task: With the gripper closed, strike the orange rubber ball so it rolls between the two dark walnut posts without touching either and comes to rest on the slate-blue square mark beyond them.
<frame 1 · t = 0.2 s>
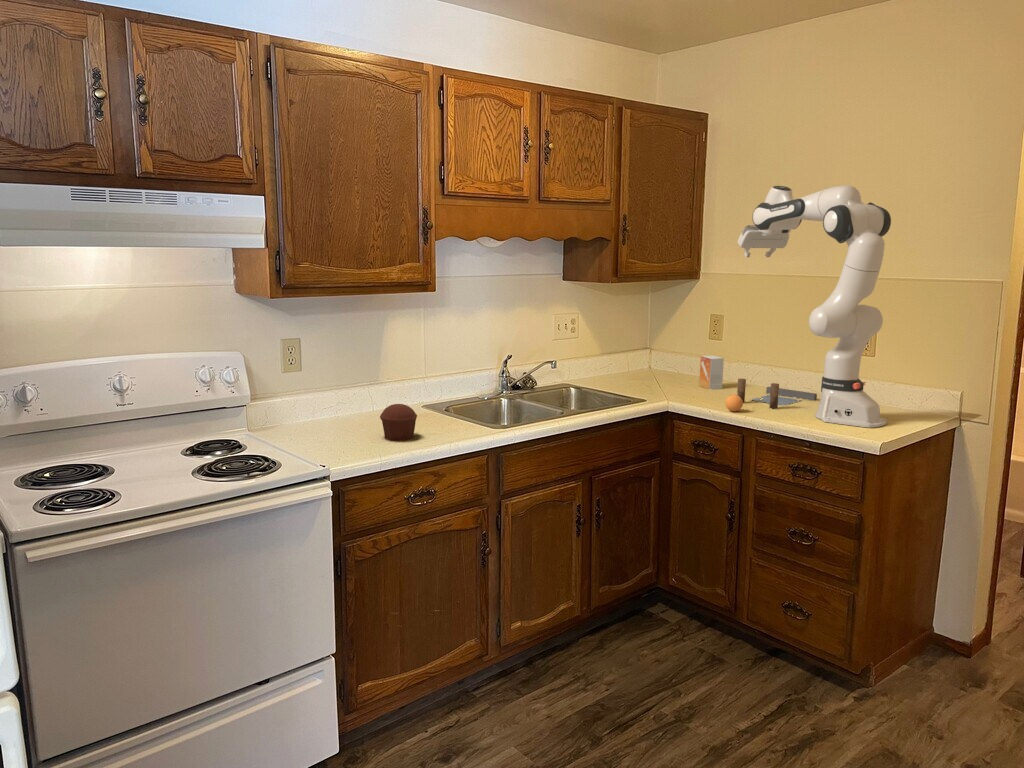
hand: (757, 256, 311), 54 cm above the worktop, tool tilted 30°, fingers open, 8 cm apart
muffin: (398, 437, 237), on the worktop
small box: (710, 388, 324), on the worktop
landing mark: (775, 400, 298), on the worktop
post 2: (773, 408, 283), on the worktop
post 1: (740, 402, 293), on the worktop
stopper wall: (790, 396, 306), on the worktop
ball: (734, 403, 277), on the worktop
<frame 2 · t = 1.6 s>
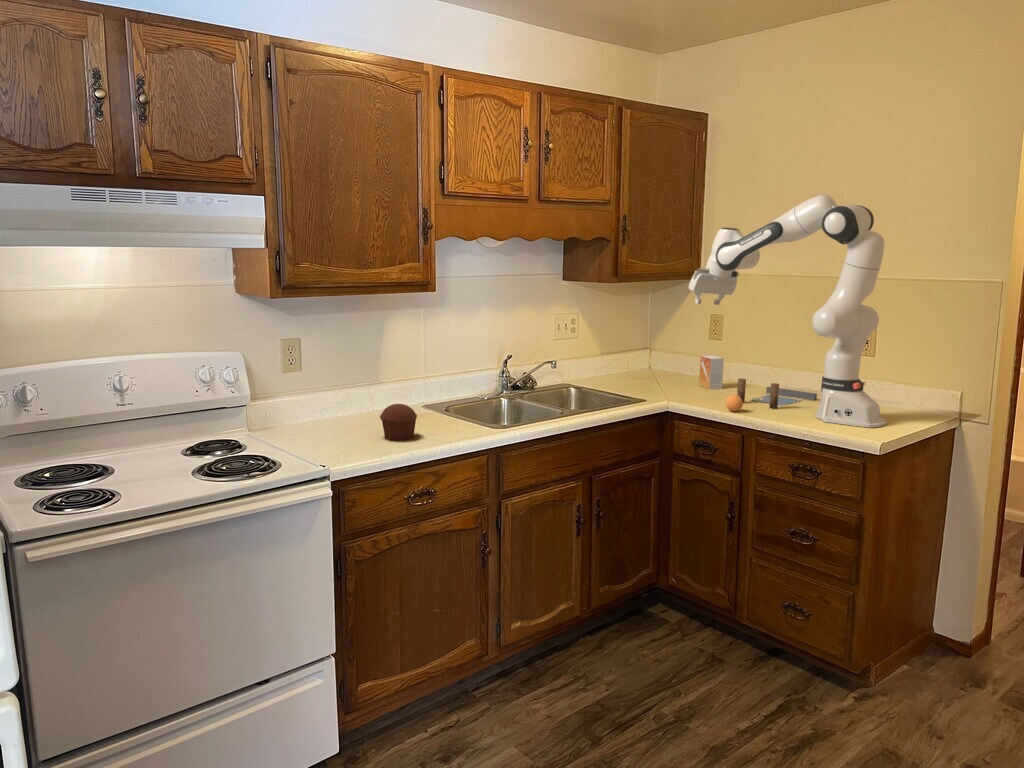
hand: (706, 303, 298), 36 cm above the worktop, tool tilted 15°, fingers open, 8 cm apart
nothing on the worktop moved.
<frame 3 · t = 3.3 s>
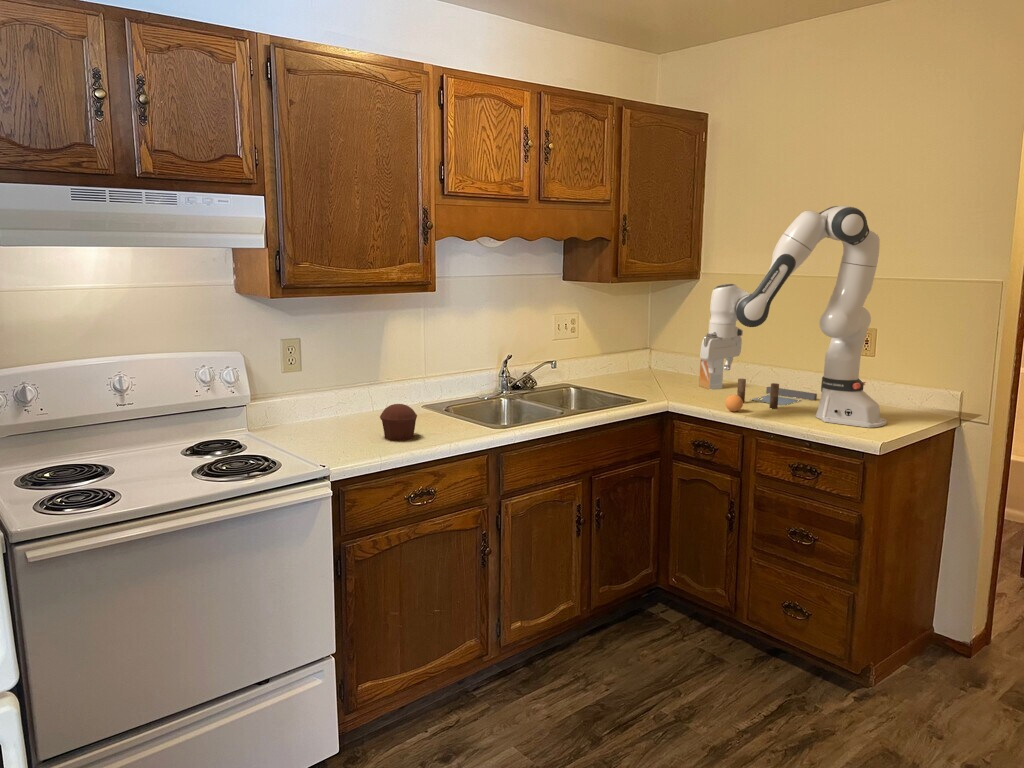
hand: (719, 371, 269), 15 cm above the worktop, tool pointing down, fingers open, 8 cm apart
nothing on the worktop moved.
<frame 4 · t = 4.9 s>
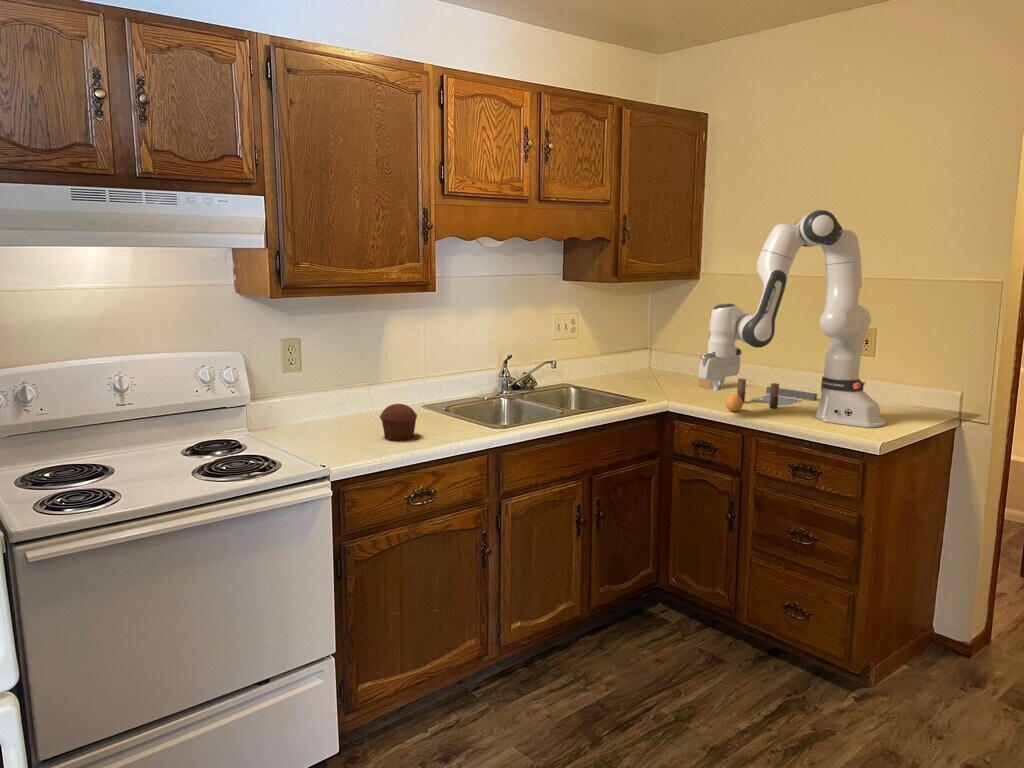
hand: (717, 390, 270), 9 cm above the worktop, tool pointing down, fingers closed
nothing on the worktop moved.
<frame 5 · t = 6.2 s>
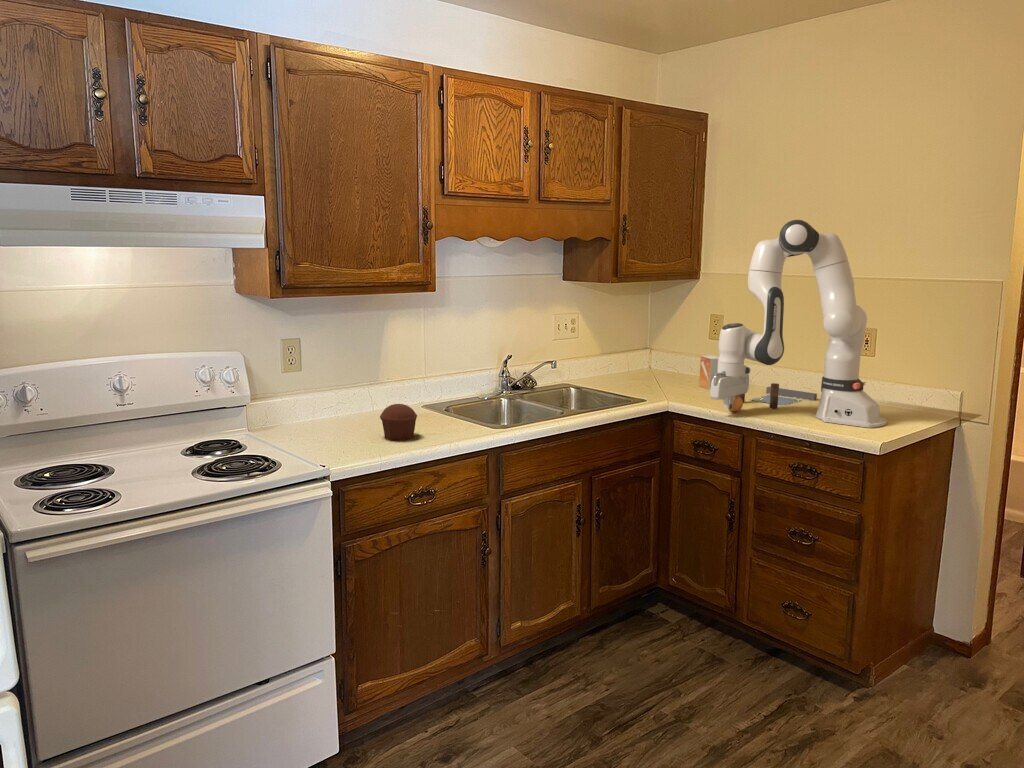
hand: (728, 408, 274), 2 cm above the worktop, tool pointing down, fingers closed
ball: (734, 403, 277), on the worktop, touching gripper
everything else where it was.
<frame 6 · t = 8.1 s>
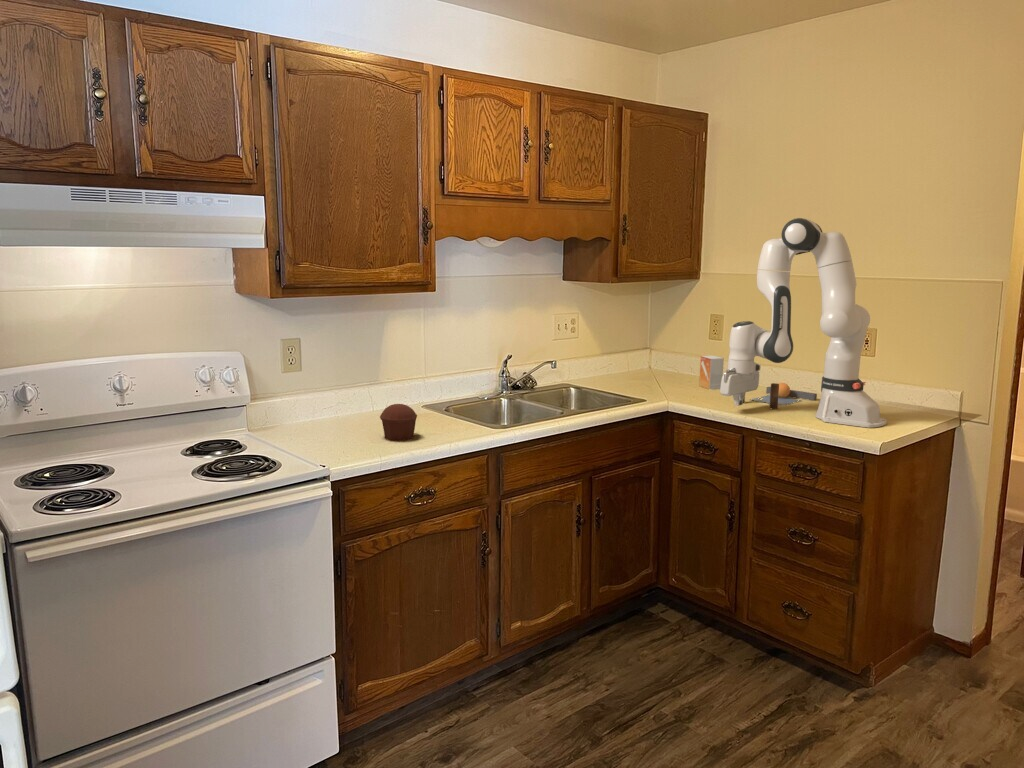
hand: (738, 405, 279), 2 cm above the worktop, tool pointing down, fingers closed
ball: (781, 390, 302), on the worktop
everything else where it was.
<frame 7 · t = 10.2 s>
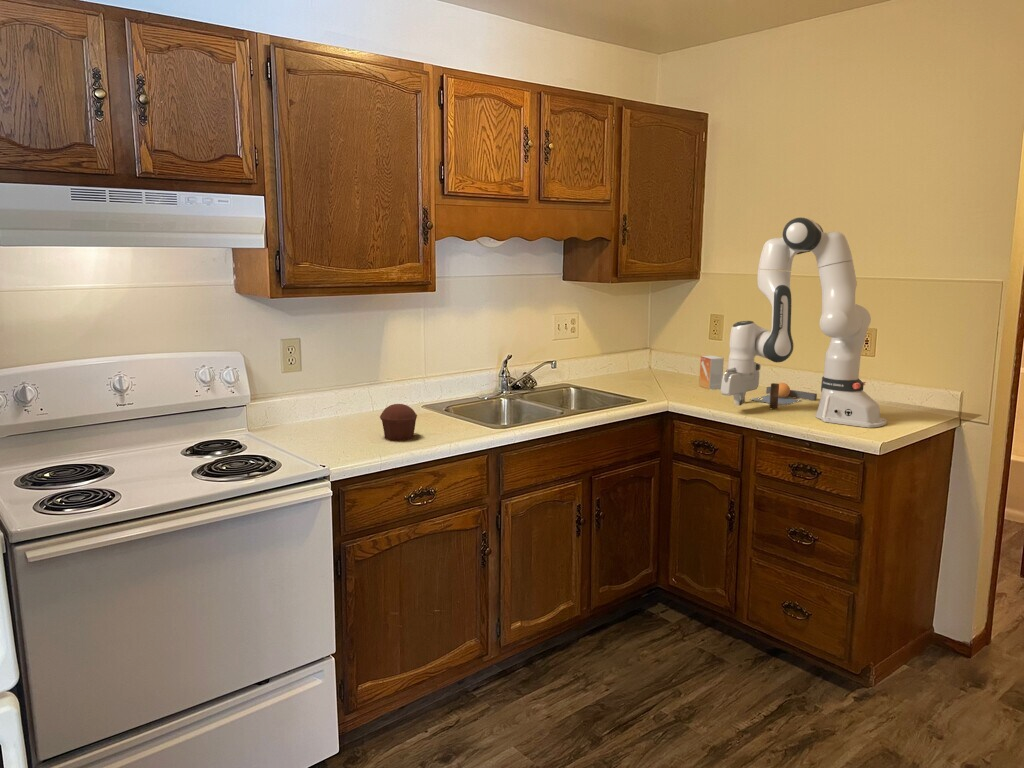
hand: (738, 404, 279), 2 cm above the worktop, tool pointing down, fingers closed
nothing on the worktop moved.
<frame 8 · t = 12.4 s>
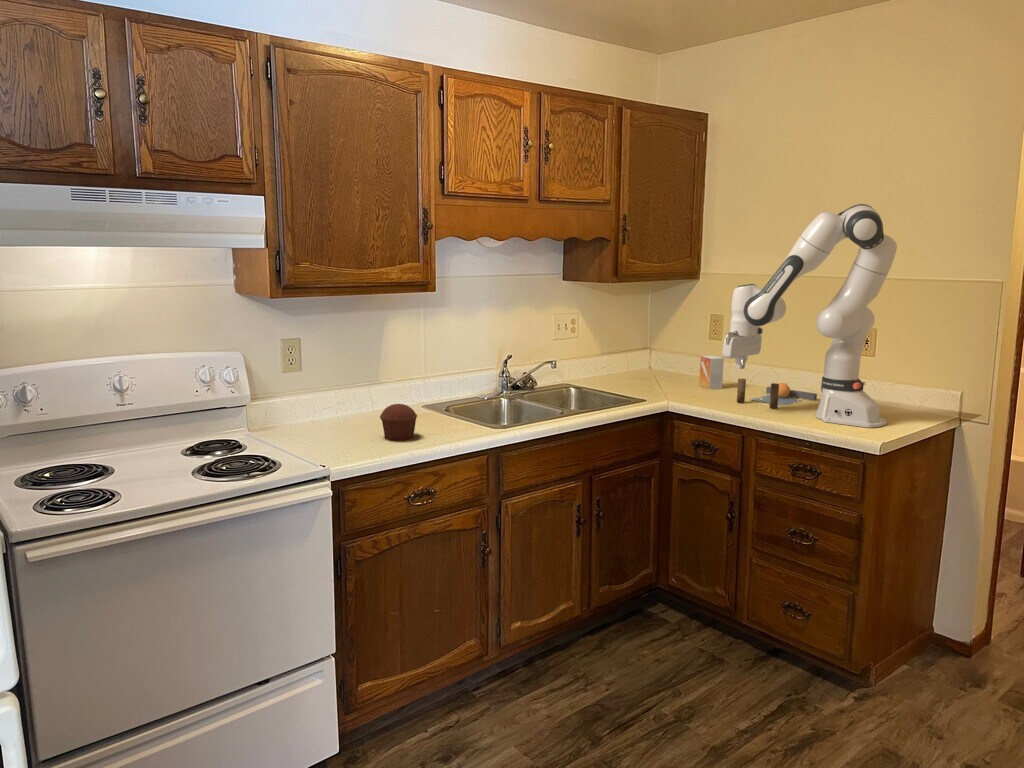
hand: (740, 368, 277), 15 cm above the worktop, tool pointing down, fingers closed
nothing on the worktop moved.
at the end: ball 6.6 cm from the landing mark (horizontally); ball never touched post 2; ball never touched post 1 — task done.
